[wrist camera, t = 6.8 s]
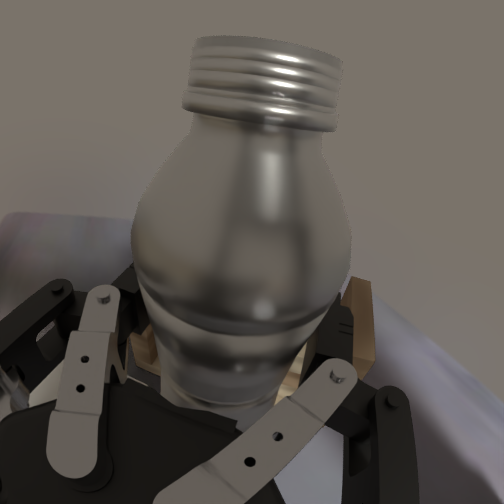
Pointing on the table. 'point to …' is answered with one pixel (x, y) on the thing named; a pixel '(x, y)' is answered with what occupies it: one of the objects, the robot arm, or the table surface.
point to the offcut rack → (363, 346)
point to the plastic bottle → (243, 226)
